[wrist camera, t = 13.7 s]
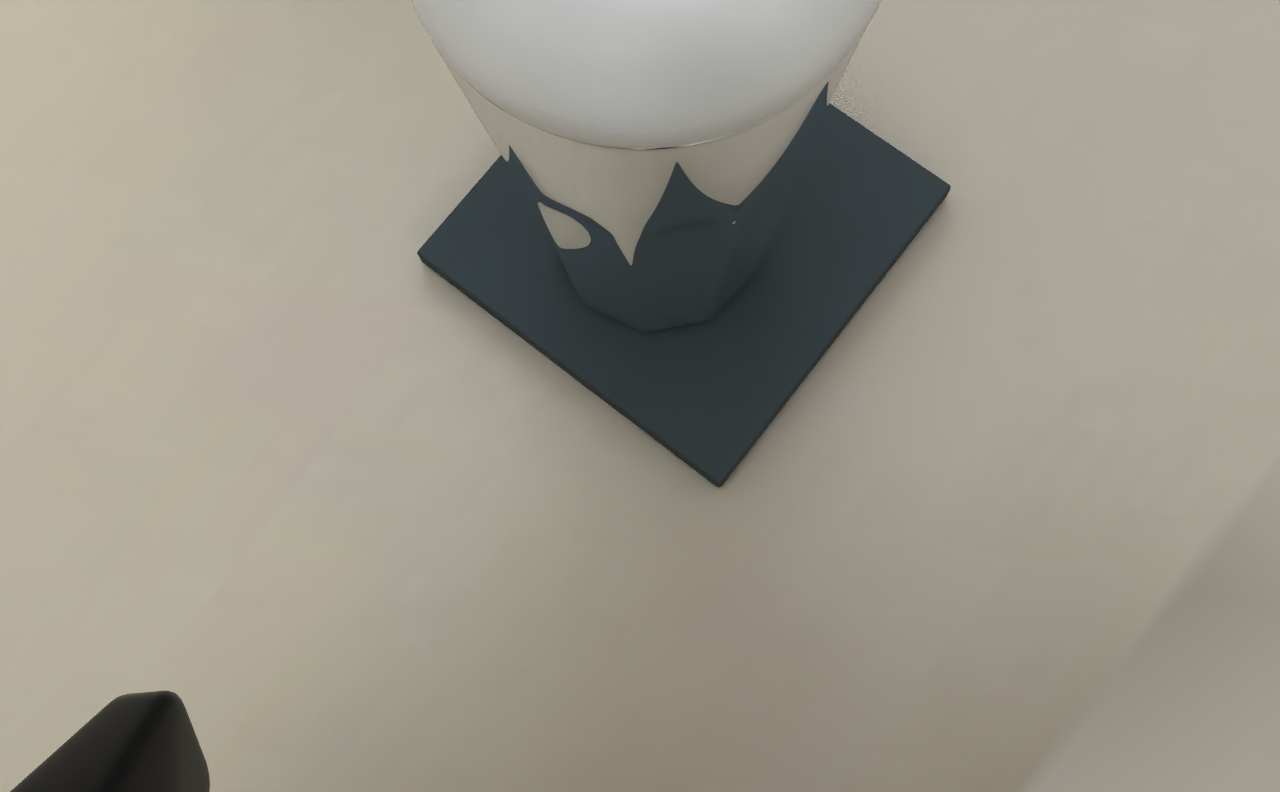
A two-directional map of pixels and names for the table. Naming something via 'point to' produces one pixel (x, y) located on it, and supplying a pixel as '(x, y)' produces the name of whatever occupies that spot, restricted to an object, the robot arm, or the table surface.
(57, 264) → the table surface
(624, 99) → the milkshake
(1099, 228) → the table surface
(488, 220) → the mat
